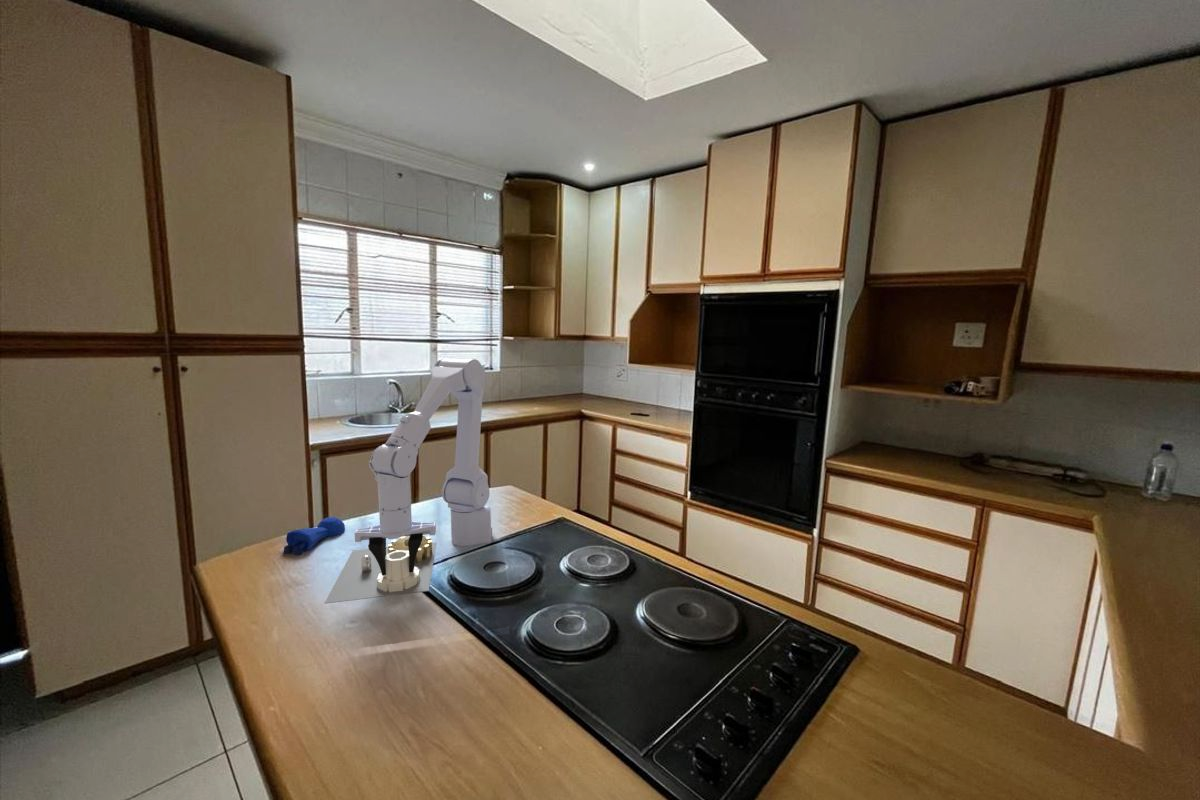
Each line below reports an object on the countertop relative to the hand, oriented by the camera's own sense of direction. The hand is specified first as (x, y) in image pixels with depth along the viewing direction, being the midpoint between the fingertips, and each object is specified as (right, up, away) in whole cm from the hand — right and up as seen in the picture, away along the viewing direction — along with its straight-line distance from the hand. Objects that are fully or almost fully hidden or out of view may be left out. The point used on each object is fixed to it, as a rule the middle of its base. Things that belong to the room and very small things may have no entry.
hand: (398, 571), depth 96 cm
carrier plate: (-4, -2, +5) cm, 7 cm away
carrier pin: (-8, -1, +4) cm, 9 cm away
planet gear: (0, -2, 0) cm, 2 cm away
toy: (-27, 0, +19) cm, 33 cm away
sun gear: (-2, -1, +11) cm, 11 cm away
